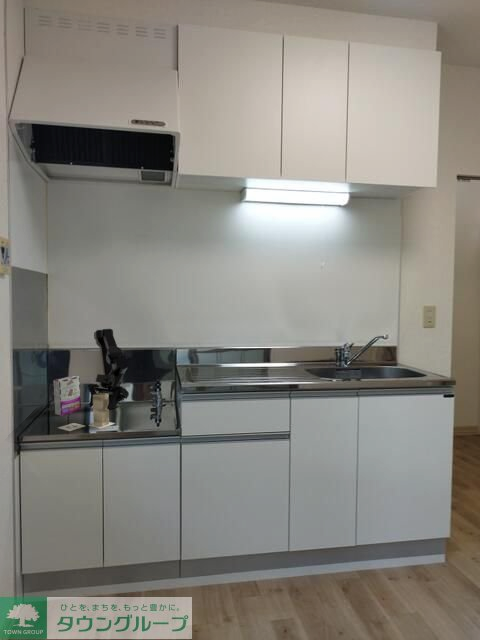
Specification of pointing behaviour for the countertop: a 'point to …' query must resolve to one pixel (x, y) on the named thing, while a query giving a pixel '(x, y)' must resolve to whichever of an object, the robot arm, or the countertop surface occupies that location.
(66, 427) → the tile
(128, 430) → the countertop surface
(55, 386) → the candy bar box
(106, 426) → the code tile
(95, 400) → the beech block
